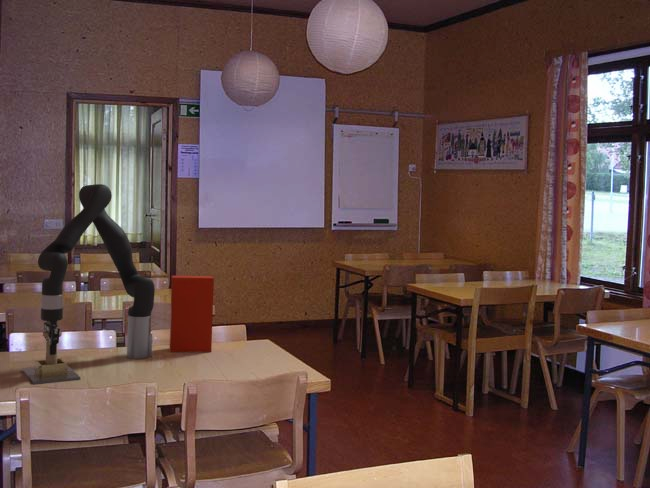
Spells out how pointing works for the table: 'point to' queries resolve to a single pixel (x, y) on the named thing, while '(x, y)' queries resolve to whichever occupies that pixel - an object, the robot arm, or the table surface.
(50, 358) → the handle
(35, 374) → the square socket base
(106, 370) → the table surface
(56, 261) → the robot arm
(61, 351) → the table surface
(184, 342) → the red rectangular box
